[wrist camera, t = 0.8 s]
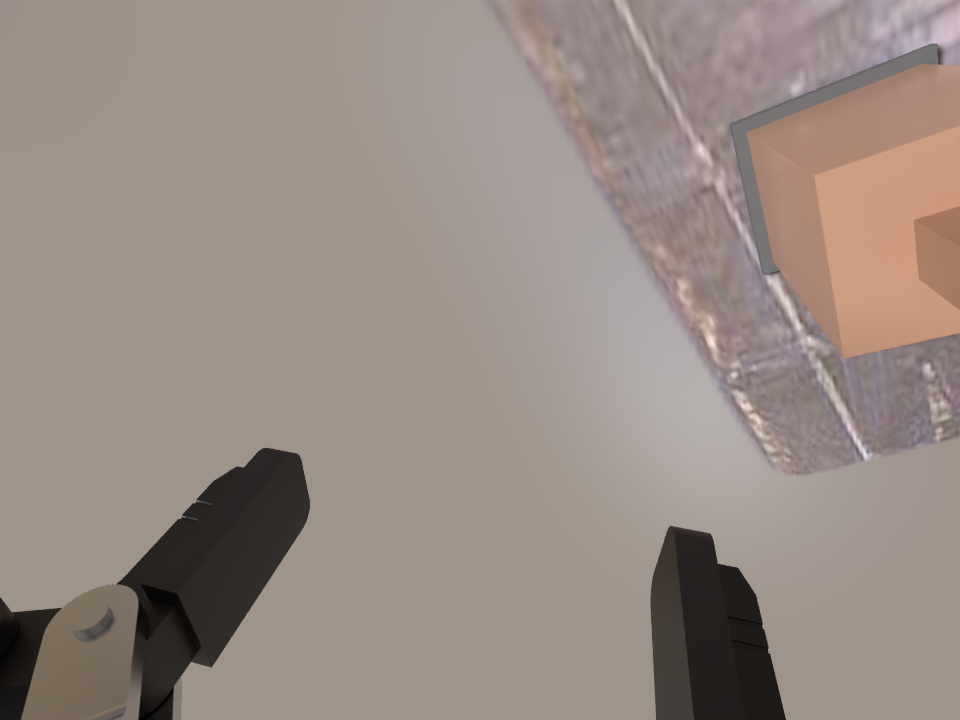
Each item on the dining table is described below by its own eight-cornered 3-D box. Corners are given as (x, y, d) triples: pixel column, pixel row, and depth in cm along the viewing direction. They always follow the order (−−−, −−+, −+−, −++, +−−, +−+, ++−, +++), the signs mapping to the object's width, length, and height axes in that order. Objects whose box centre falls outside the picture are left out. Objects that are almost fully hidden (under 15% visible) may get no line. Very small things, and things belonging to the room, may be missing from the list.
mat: (931, 43, 28) (937, 43, 27) (943, 219, 31) (948, 221, 31) (729, 124, 32) (731, 125, 31) (761, 271, 35) (764, 275, 35)
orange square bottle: (922, 63, 28) (1266, 80, 13) (933, 215, 31) (1217, 364, 16) (746, 132, 31) (862, 206, 16) (773, 262, 34) (890, 421, 20)
